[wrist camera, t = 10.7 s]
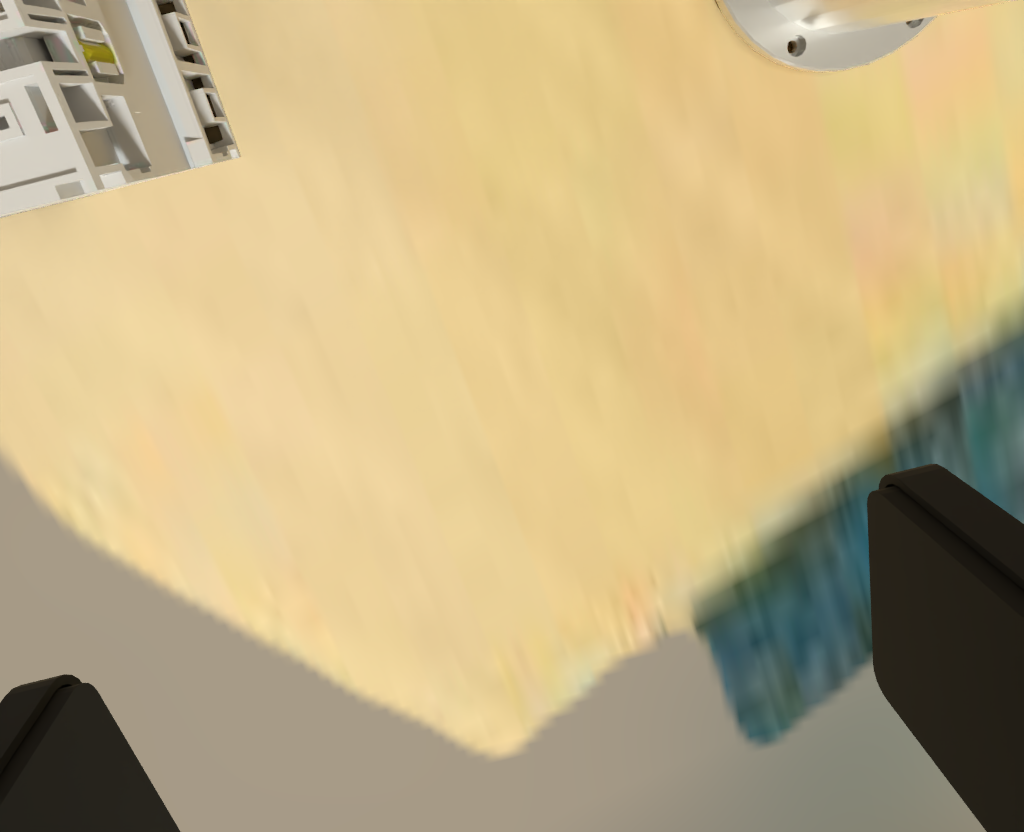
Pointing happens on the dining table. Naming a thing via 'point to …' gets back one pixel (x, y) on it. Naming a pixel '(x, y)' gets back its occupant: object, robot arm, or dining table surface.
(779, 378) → the dining table surface
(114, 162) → the circuit breaker
